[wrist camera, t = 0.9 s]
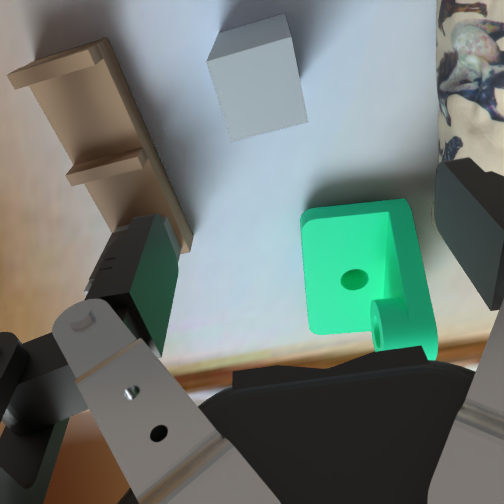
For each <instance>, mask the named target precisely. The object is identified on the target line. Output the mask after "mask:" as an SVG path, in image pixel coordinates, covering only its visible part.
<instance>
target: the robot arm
mask: <svg viewBox="0 0 504 504" xmlns="http://www.w3.org/2000/svg"><path fill="white" fill-rule="evenodd" d="M434 219H435V224H436V227H437V230H438V232H439V234H440V235H441V237H442V238H443V240H444V241H445V243H446V244H447V246H448V247H449V249H450V250H451V252H452V253H453V255H454V256H455V258H456V259H457V261H458V262H459V264H460V265H461V267H462V268H463V270H464V271H465V273H466V274H467V276H468V277H469V279H470V280H471V282H472V283H473V285H474V286H475V288H476V289H477V291H478V292H479V294H480V295H481V297H482V298H483V300H484V302H485V303H486V305H487V306H488V308H489V309H490V311H494V310H499V312H498V315H497V318H496V320H495V323H494V326H493V328H492V331H491V333H490V336H489V339H488V341H487V344H486V347H485V349H484V352H483V354H482V357H481V360H480V362H479V365H478V368H477V370H476V372H474V371H472V370H469V369H466V368H464V367H461V366H458V365H454V364H450V363H446V362H440V361H434V360H428V359H427V357H426V354H425V352H424V350H423V347H422V345H420V346H413V347H406V348H399V349H391V350H384V351H377V352H372V353H369V354H367V355H364V356H361V357H359V358H356V359H353V360H351V361H348V362H345V363H342V364H340V365H337V366H334V367H331V368H327V369H318V368H306V367H293V366H280V365H276V366H269V367H262V368H255V369H247V370H240V371H233V383H232V387H229V388H227V389H224V390H222V391H220V392H219V393H217V394H215V395H213V396H212V397H210V398H209V399H207V400H206V401H204V402H203V403H202V404H201V405H199V406H198V407H197V405H196V404H195V403H194V402H193V401H192V399H191V398H190V397H189V396H188V394H187V393H186V392H185V391H184V390H183V388H182V387H181V386H180V385H179V383H178V382H177V381H176V380H175V379H174V377H173V376H172V375H171V374H170V372H169V371H168V370H167V369H166V368H165V366H164V365H163V364H162V363H161V362H160V360H159V359H158V358H161V357H162V352H163V347H164V342H165V338H166V333H167V328H168V323H169V318H170V313H171V308H172V303H173V298H174V293H175V288H176V283H177V278H178V262H177V257H176V254H175V251H174V249H173V246H172V243H171V241H170V238H169V236H168V233H167V230H166V228H165V225H164V222H163V220H162V218H161V216H160V215H159V214H158V213H155V214H150V215H144V216H139V217H134V218H132V220H131V222H130V225H129V227H128V230H127V232H126V234H125V236H120V237H118V238H117V239H116V240H115V241H114V242H113V243H112V244H111V245H110V246H109V247H108V249H107V251H106V253H105V255H104V258H103V262H101V264H100V267H99V271H98V272H97V273H96V276H95V278H94V280H93V282H92V285H91V287H90V289H89V291H88V294H87V296H86V298H85V300H84V301H81V302H79V303H76V304H74V305H73V306H71V307H69V308H68V309H66V310H65V311H64V312H63V313H62V314H61V315H60V316H59V317H58V318H57V319H56V321H55V323H54V325H53V328H52V332H51V333H49V334H46V335H44V336H41V337H39V338H36V339H33V340H31V341H28V342H26V343H23V344H22V343H21V342H20V341H19V339H18V338H17V337H16V336H15V335H14V334H13V333H10V332H0V422H1V421H2V422H3V423H4V424H5V425H6V426H5V429H4V431H3V433H2V435H1V438H0V504H43V502H44V499H45V496H46V493H47V489H48V486H49V483H50V480H51V476H52V473H53V470H54V467H55V463H56V460H57V457H58V453H59V450H60V447H61V443H62V441H63V437H64V434H65V431H66V428H67V424H68V421H69V418H70V417H71V416H73V415H75V414H78V413H80V412H82V411H85V410H87V409H89V410H90V411H91V413H92V415H93V417H94V419H95V421H96V423H97V425H98V427H99V428H100V430H101V432H102V434H103V436H104V438H105V440H106V442H107V444H108V445H109V447H110V449H111V451H112V453H113V455H114V456H115V459H116V460H117V462H118V464H119V466H120V468H121V470H122V472H123V474H124V476H125V478H126V479H127V481H128V483H129V485H130V488H129V490H128V491H127V492H126V493H125V495H124V496H123V497H122V498H121V500H120V501H119V502H118V503H117V504H504V176H502V175H500V174H498V173H495V172H493V171H489V172H485V171H484V170H483V169H481V168H480V167H479V166H478V165H477V164H476V163H475V162H474V161H473V160H472V159H471V158H469V157H466V158H461V159H455V160H450V161H444V162H440V163H439V164H438V166H437V170H436V185H435V201H434Z"/></svg>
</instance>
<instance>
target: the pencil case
mask: <svg viewBox="0 0 504 504" xmlns="http://www.w3.org/2000/svg"><path fill="white" fill-rule="evenodd" d="M436 79H437V93H438V98H439V113H438V131H439V151H438V164H439V163H440V162H444V161H450V160H455V159H461V158H466V157H469V158H471V159H472V160H473V161H474V162H475V163H476V164H477V165H478V166H479V167H480V168H481V169H483V170H484V171H485V172H489V171H493V172H495V173H498V174H500V175H502V176H504V0H437V12H436ZM431 219H432V223H433V226H434V229H435V230H436V232H437V234H438V235H439V236H440V237H441V235H440V234H439V232H438V230H437V227H436V224H435V219H434V204H433V206H432V209H431ZM441 238H442V237H441ZM442 239H443V238H442Z"/></svg>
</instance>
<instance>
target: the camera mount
mask: <svg viewBox="0 0 504 504" xmlns="http://www.w3.org/2000/svg"><path fill="white" fill-rule="evenodd" d="M300 228H301V240H302V242H301V243H302V255H303V267H304V279H305V290H306V300H307V312H308V321H309V329H310V331H311V332H313V333H314V334H317V335H326V334H339V333H352V332H365V331H372V338H373V344H374V349H375V352H377V351H384V350H391V349H399V348H406V347H413V346H420V345H422V347H423V350H424V352H425V354H426V357H427V359H428V360H434V361H435V359H436V357H437V352H438V335H437V328H436V322H435V317H434V313H433V308H432V303H431V299H430V294H429V289H428V285H427V280H426V275H425V271H424V266H423V261H422V257H421V252H420V247H419V243H418V238H417V233H416V229H415V224H414V220H413V215H412V210H411V208H410V206H409V204H408V202H407V200H406V198H403V199H393V200H384V201H375V202H365V203H356V204H346V205H337V206H328V207H318V208H311V209H308V210H306V211H305V212H304V213H303V214H302V216H301V218H300ZM353 269H355V270H353ZM349 270H352V271H349Z"/></svg>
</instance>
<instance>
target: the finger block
mask: <svg viewBox="0 0 504 504" xmlns="http://www.w3.org/2000/svg"><path fill="white" fill-rule="evenodd" d="M206 62H207V65H208V68H209V72H210V75H211V78H212V81H213V84H214V87H215V91H216V94H217V97H218V100H219V103H220V107H221V110H222V113H223V116H224V119H225V122H226V126H227V129H228V132H229V135H230V138H231V141H232V142H233V141H236V140H240V139H244V138H248V137H252V136H256V135H260V134H264V133H268V132H272V131H276V130H280V129H283V128H287V127H291V126H295V125H299V124H303V123H307V122H308V118H307V113H306V108H305V103H304V98H303V93H302V88H301V83H300V78H299V73H298V68H297V62H296V57H295V52H294V47H293V42H292V37H291V33H290V30H289V26H288V23H287V19H286V16H285V13H283V14H280V15H276V16H273V17H270V18H266V19H263V20H260V21H257V22H253V23H250V24H247V25H243V26H240V27H237V28H233V29H230V30H227V31H224V32H220V33H219V34H218V36H217V38H216V40H215V43H214V45H213V47H212V50H211V52H210V54H209V57H208V59H207V61H206Z"/></svg>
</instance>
